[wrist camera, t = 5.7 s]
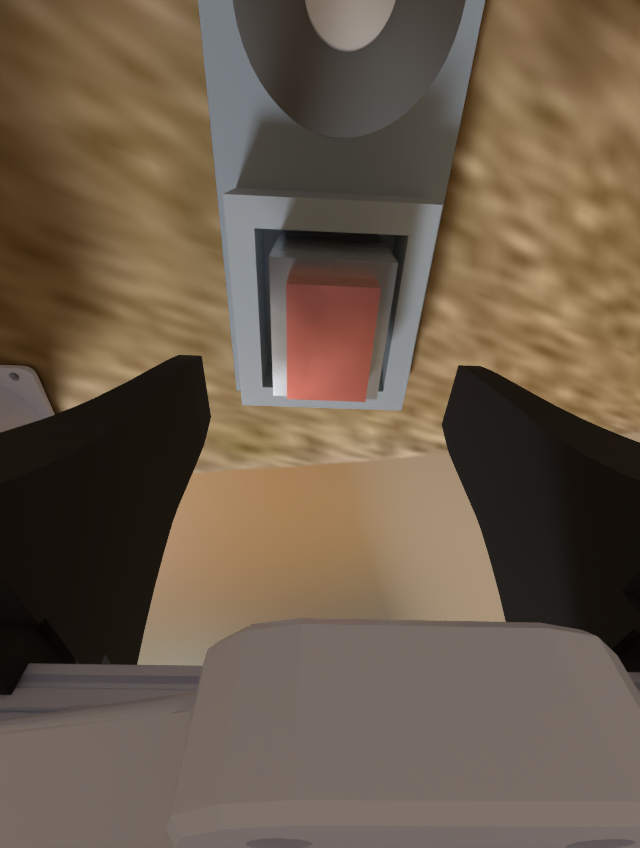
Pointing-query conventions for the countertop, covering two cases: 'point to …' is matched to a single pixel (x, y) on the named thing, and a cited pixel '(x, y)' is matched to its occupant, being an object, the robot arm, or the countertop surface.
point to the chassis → (325, 196)
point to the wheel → (347, 57)
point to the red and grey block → (329, 314)
